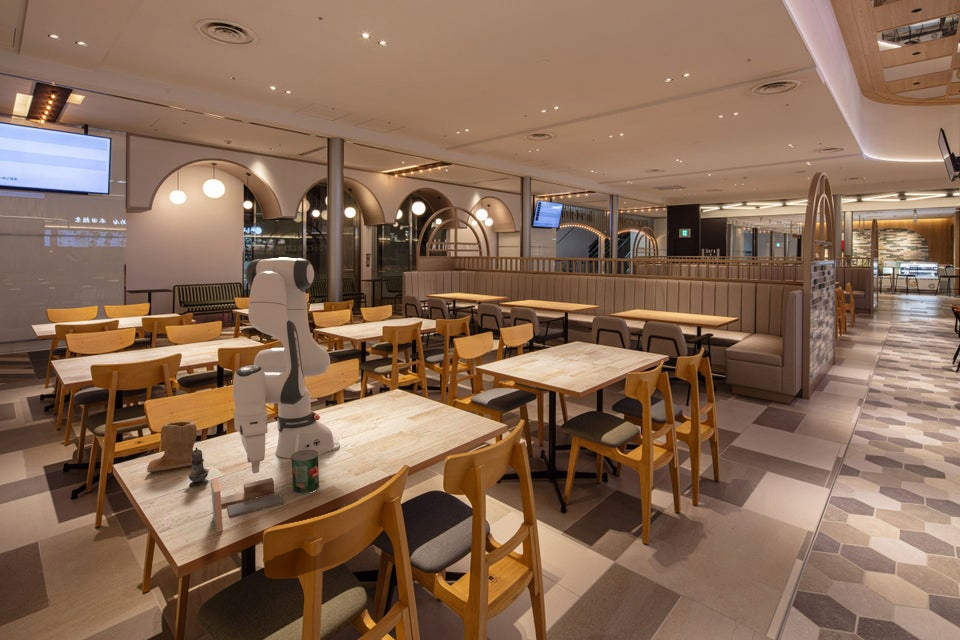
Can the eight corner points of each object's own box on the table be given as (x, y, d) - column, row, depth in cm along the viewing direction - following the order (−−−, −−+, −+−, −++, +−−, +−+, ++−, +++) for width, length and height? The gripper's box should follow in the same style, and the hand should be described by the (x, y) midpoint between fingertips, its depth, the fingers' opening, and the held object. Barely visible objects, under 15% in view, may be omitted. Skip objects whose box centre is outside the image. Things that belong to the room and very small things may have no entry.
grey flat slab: (279, 495, 147) (279, 493, 147) (283, 504, 142) (283, 502, 142) (227, 507, 139) (227, 505, 139) (229, 517, 134) (229, 515, 134)
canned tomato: (321, 490, 150) (320, 456, 149) (294, 496, 146) (293, 461, 145) (316, 480, 157) (315, 447, 156) (290, 485, 153) (289, 452, 152)
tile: (219, 514, 136) (217, 477, 134) (222, 530, 128) (220, 490, 127) (213, 516, 135) (210, 478, 133) (215, 532, 127) (213, 492, 126)
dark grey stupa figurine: (190, 480, 156) (187, 444, 154) (210, 478, 158) (208, 442, 156) (186, 488, 150) (183, 452, 149) (207, 486, 152) (205, 449, 151)
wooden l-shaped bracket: (272, 488, 151) (271, 476, 151) (274, 494, 147) (274, 482, 147) (217, 501, 143) (216, 488, 143) (219, 508, 139) (218, 494, 139)
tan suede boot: (201, 455, 176) (198, 415, 174) (200, 467, 165) (198, 425, 163) (150, 463, 168) (147, 421, 166) (147, 477, 158) (143, 433, 156)
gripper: (235, 414, 150) (237, 457, 152) (243, 433, 133) (246, 481, 135) (257, 411, 154) (259, 453, 155) (268, 429, 137) (270, 476, 138)
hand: (253, 466), depth 145 cm, fingers open, 8 cm apart
